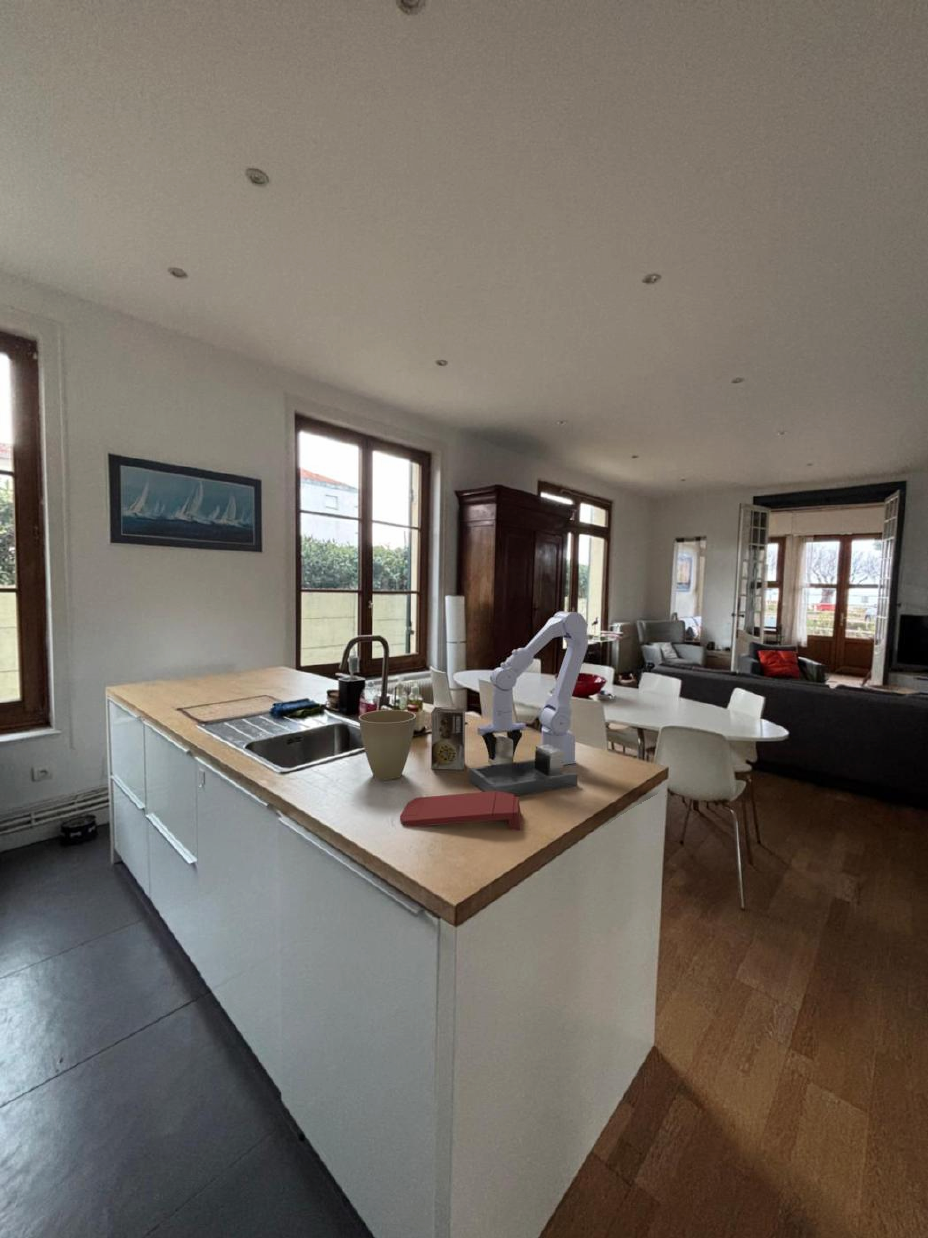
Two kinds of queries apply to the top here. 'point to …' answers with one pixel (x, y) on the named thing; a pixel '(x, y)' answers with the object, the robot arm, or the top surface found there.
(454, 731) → the food box
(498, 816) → the red bent plate
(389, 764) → the plant pot
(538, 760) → the tray
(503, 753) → the finger block
